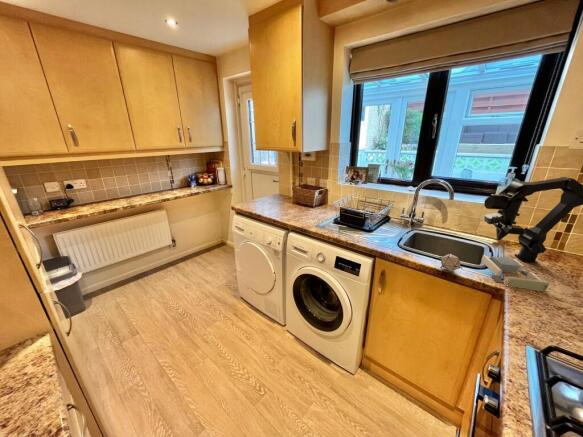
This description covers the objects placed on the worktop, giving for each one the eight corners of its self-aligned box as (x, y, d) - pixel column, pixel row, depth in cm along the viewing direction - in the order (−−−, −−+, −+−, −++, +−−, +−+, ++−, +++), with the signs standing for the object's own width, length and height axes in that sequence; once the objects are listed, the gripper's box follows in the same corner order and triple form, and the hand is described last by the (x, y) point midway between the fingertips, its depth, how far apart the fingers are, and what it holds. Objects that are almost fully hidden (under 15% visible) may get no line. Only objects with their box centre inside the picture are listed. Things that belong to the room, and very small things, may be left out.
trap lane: (481, 260, 115) (483, 255, 114) (512, 264, 112) (515, 258, 111) (506, 286, 97) (509, 280, 95) (544, 291, 94) (548, 285, 93)
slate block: (489, 263, 113) (492, 256, 112) (505, 264, 112) (508, 257, 111) (498, 271, 107) (501, 264, 105) (516, 273, 106) (519, 265, 104)
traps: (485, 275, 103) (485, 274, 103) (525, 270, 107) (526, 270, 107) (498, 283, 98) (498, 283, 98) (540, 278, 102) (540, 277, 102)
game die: (442, 274, 110) (441, 252, 112) (464, 275, 104) (463, 253, 107) (437, 272, 104) (436, 249, 106) (461, 273, 98) (459, 249, 100)
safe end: (504, 284, 98) (508, 276, 96) (542, 289, 95) (546, 281, 94) (506, 286, 97) (510, 278, 95) (544, 291, 94) (549, 283, 92)
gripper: (480, 202, 118) (470, 230, 124) (502, 215, 101) (490, 247, 107) (505, 203, 116) (494, 232, 122) (532, 217, 99) (518, 249, 105)
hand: (498, 239), depth 114 cm, fingers closed
